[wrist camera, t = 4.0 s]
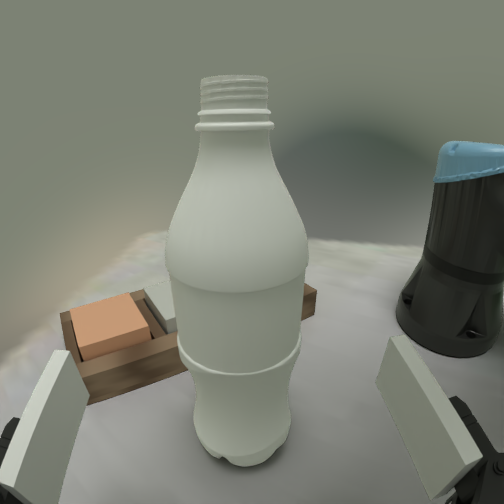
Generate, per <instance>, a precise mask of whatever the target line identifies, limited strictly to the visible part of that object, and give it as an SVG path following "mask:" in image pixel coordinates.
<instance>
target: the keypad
mask: <svg viewBox="0 0 504 504" xmlns="http://www.w3.org/2000/svg"><path fill="white" fill-rule="evenodd" d="M129 294H130V296H131V297H132V299H133V301H134V303H135V304H136V306H137V308H138V309H139V311H140V313H141V314H142V316H143V317H144V319H145V321H146V322H147V324H148V326H149V330H150V334H151V339H152V340H150V341H147V342H144V343H141V344H138V345H135V346H132V347H129V348H126V349H123V350H120V351H117V352H113V353H110V354H107V355H104V356H101V357H98V358H94V359H91V360H88V361H85V362H84V360H83V357H82V355H81V352H80V350H79V347H78V343H77V339H76V335H75V331H74V327H73V322H72V318H71V313H70V311H66V312H63V313H60V318H61V324H62V330H63V335H64V341H65V346H66V350H67V351H70V352H71V355H72V357H73V359H74V362H75V364H76V366H77V369H78V371H79V373H80V375H81V378H82V380H83V382H84V384H85V386H86V388H87V391H88V393H89V395H90V396H89V399H88V402H87V405H90V404H93V403H96V402H99V401H102V400H105V399H108V398H111V397H114V396H117V395H120V394H123V393H126V392H129V391H132V390H135V389H138V388H141V387H143V386H146V385H149V384H152V383H154V382H157V381H160V380H163V379H165V378H168V377H171V376H173V375H176V374H178V373H181V372H184V371H186V370H188V368H187V367H186V366H185V365H184V364H183V363H182V361H181V358H180V355H179V349H178V344H177V334H178V331H176V332H173V333H171V334H168V335H166V334H165V332H164V331H163V329H162V328H161V326H160V325H159V323H158V322H157V321H156V319H155V318H154V316H153V315H152V313H151V312H150V310H149V309H148V307H147V306H146V300H145V295H144V290H143V289H142V290H139V291H135V292H132V293H129ZM316 294H317V290H316V289H314V288H312V287H310V286H309V285H307V284H305V283H304V293H303V304H302V315H301V321H302V320H304V319H306V318H308V317H310V316H312V315H314V312H315V303H316Z"/></svg>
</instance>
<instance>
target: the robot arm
mask: <svg viewBox="0 0 504 504" xmlns="http://www.w3.org/2000/svg"><path fill="white" fill-rule="evenodd" d="M433 182H435V185H434V193H433V201H432V207H431V213H430V219H429V225H428V230H427V235H426V240H425V245H424V250H423V254H422V258H421V260H420V261H419V263H418V265H417V266H416V268H415V270H414V271H413V273H412V275H411V276H410V278H409V280H408V281H407V283H406V284H405V286H404V288H403V289H402V291H401V293H400V296H399V300H398V304H397V308H396V315H397V319H398V322H399V324H400V325H401V327H402V328H403V330H404V331H405V332H406V333H407V334H408V335H409V336H410V337H411V338H412V339H414V340H415V341H416V342H418V343H419V344H421V345H423V346H425V347H426V348H428V349H431V350H433V351H435V352H438V353H441V354H445V355H449V356H455V357H471V356H476V355H480V354H482V353H484V352H486V351H487V350H489V349H490V348H491V347H492V345H493V344H494V342H495V340H496V337H497V335H498V333H499V331H500V327H501V322H502V310H503V296H504V145H498V144H489V143H478V142H464V141H451V142H447V143H446V144H444V145H443V146H442V147H441V149H440V152H439V156H438V163H437V169H436V175H435V176H434V178H433ZM375 383H376V385H377V387H378V389H379V391H380V393H381V395H382V397H383V399H384V401H385V403H386V405H387V407H388V409H389V411H390V413H391V416H392V418H393V420H394V422H395V424H396V426H397V428H398V430H399V432H400V435H401V437H402V439H403V441H404V443H405V445H406V447H407V450H408V452H409V454H410V456H411V458H412V461H413V463H414V465H415V467H416V470H417V472H418V474H419V476H420V479H421V481H422V483H423V486H424V488H425V490H426V492H427V495H428V497H429V499H430V501H431V500H433V499H436V498H438V497H440V496H443V495H445V494H447V493H448V492H449V491H450V490H451V489H452V488H453V487H455V490H456V492H455V493H454V494H453V495H452V496H451V497H450V498H449V499H447V501H446V503H445V504H449V503H450V502H451V501H452V502H451V504H504V453H498V452H497V451H496V450H495V449H494V447H493V446H492V444H491V442H490V441H489V439H488V438H487V436H486V434H485V433H484V431H483V429H482V428H481V426H480V425H479V423H477V420H476V418H475V417H474V415H472V412H471V411H470V409H469V408H468V406H467V405H466V403H465V402H463V401H462V400H461V399H459V398H458V397H457V396H454V397H451V398H449V399H448V398H447V396H446V394H445V393H444V391H443V390H442V388H441V387H440V385H439V384H438V382H437V381H436V379H435V378H434V376H433V375H432V373H431V372H430V370H429V369H428V367H427V366H426V364H425V363H424V361H423V360H422V358H421V357H420V355H419V354H418V352H417V351H416V350H415V348H414V347H413V345H412V344H411V342H410V341H409V339H408V338H407V337H406V335H399V336H393V337H390V338H389V341H388V345H387V348H386V351H385V355H384V358H383V361H382V364H381V367H380V370H379V373H378V376H377V379H376V382H375ZM89 396H90V395H89V393H88V391H87V388H86V386H85V384H84V382H83V380H82V378H81V375H80V373H79V371H78V369H77V366H76V364H75V362H74V359H73V357H72V355H71V352H70V351H65V350H55V351H54V353H53V354H52V356H51V358H50V360H49V362H48V364H47V366H46V368H45V369H44V371H43V373H42V375H41V377H40V379H39V381H38V383H37V385H36V387H35V389H34V391H33V393H32V395H31V397H30V400H29V402H28V404H27V406H26V408H25V410H24V412H23V415H22V417H21V419H19V418H15V417H13V418H12V419H11V421H10V422H9V423H8V424H7V425H6V426H5V428H4V430H3V433H2V435H1V438H0V504H58V502H59V497H60V493H61V489H62V485H63V482H64V478H65V474H66V470H67V467H68V463H69V459H70V456H71V453H72V449H73V446H74V442H75V439H76V436H77V433H78V429H79V426H80V423H81V420H82V417H83V414H84V411H85V408H86V405H87V402H88V399H89Z"/></svg>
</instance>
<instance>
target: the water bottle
mask: <svg viewBox="0 0 504 504" xmlns="http://www.w3.org/2000/svg"><path fill="white" fill-rule="evenodd" d="M267 84H268V81H267V78H266V77H262V76H254V75H221V76H212V77H207V78H202V79H201V86H200V89H201V93H200V96H201V101H200V104H201V111H200V112H198V115H200V122H199V123H198V124H196V125H195V131H200V147H199V152H198V157H197V161H196V164H195V168H194V170H193V173H192V175H191V177H190V180H189V182H188V184H187V186H186V188H185V190H184V192H183V195H182V197H181V199H180V201H179V203H178V206H177V209H176V211H175V214H174V216H173V219H172V221H171V224H170V227H169V231H168V235H167V239H166V246H165V265H166V267H167V270H168V272H169V275H170V283H171V290H172V297H173V304H174V310H175V317H176V323H177V329H178V334H177V344H178V349H179V355H180V358H181V361H182V363H183V364H184V365H185V366H186V367H187V368H188V370H189V371H190V373H191V375H192V377H193V380H194V382H195V389H196V402H195V407H194V414H193V419H194V426H195V429H196V433H197V436H198V438H199V440H200V442H201V443H202V445H203V446H204V448H205V449H206V450H207V451H208V452H209V453H210V454H211V455H212V456H214V457H217V458H218V459H220V458H221V457H222V456H223V457H225V458H227V459H228V460H229V462H231V463H232V464H234V465H238V466H243V467H246V466H253V465H257V464H260V463H262V462H264V461H265V460H267V459H268V458H269V457H270V456H271V455H272V454H273V453H274V452H275V450H276V449H277V448H279V447H280V446H281V445H282V444H283V443H284V442H285V440H286V438H287V435H288V432H289V428H290V423H291V412H290V409H289V405H288V385H289V380H290V376H291V372H292V370H293V367H294V364H295V362H296V360H297V357H298V355H299V353H300V346H301V330H300V325H301V315H302V304H303V293H304V281H305V269H306V267H307V265H308V260H309V253H308V242H307V236H306V232H305V229H304V225H303V222H302V220H301V218H300V216H299V214H298V211H297V209H296V207H295V205H294V202H293V200H292V198H291V196H290V194H289V192H288V190H287V188H286V186H285V184H284V183H283V181H282V179H281V177H280V174H279V173H278V170H277V168H276V165H275V162H274V159H273V156H272V152H271V148H270V141H269V130H272V129H274V123H272V122H270V121H269V114H271V112H270V110H268V109H267V100H268V98H269V97H268V95H267V91H268V88H267Z"/></svg>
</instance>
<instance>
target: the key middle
mask: <svg viewBox="0 0 504 504" xmlns="http://www.w3.org/2000/svg"><path fill="white" fill-rule="evenodd" d="M143 290H144V295H145V300H146V306H147V307H148V309H149V310H150V312H151V313H152V315H153V316H154V318H155V319H156V321H157V322H158V323H159V325H160V326H161V328H162V329H163V331H164V332H165V334H166V335H168V334H171V333H173V332H176V331H178V329H177V323H176V317H175V310H174V304H173V297H172V290H171V283H170V281H166V282H163V283H159V284H156V285H152V286H149V287H146V288H143Z"/></svg>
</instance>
